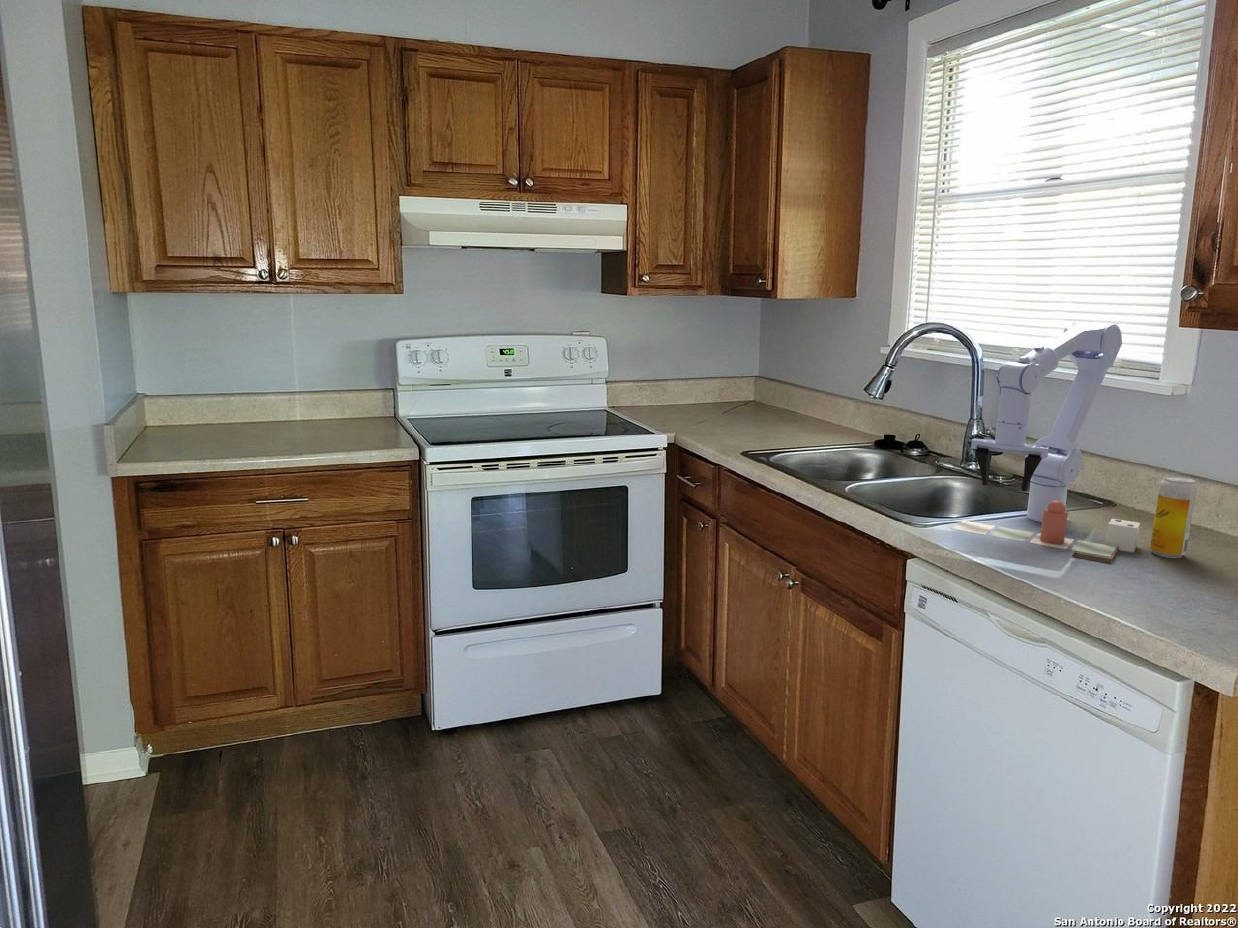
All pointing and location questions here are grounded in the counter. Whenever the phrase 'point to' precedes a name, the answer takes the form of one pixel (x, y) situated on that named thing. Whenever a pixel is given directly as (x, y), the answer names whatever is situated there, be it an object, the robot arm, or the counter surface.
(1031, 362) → the robot arm
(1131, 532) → the die
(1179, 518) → the beer can
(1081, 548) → the board
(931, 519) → the counter surface
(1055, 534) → the pawn
